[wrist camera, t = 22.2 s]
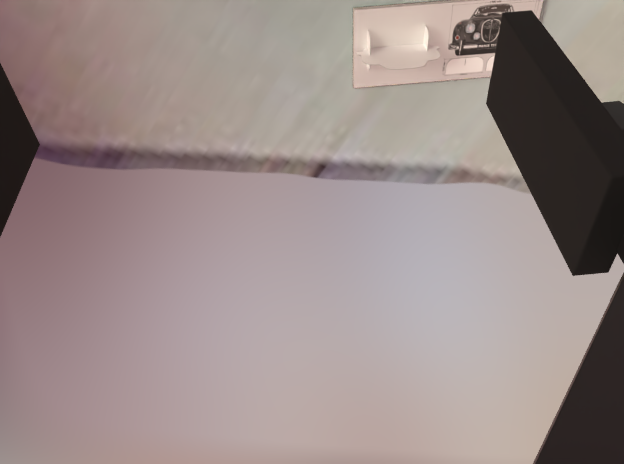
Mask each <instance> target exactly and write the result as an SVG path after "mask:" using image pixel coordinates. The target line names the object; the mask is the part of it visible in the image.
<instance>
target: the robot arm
mask: <svg viewBox="0 0 624 464" xmlns="http://www.w3.org/2000/svg"><path fill="white" fill-rule="evenodd" d="M486 104H487V106H488V108H489V110H490V112H491V114H492V116H493V118H494V120H495V122H496V124H497V126H498V128H499V130H500V132H501V134H502V136H503V138H504V140H505V142H506V144H507V146H508V148H509V150H510V152H511V154H512V156H513V158H514V160H515V162H516V164H517V166H518V168H519V170H520V172H521V174H522V176H523V178H524V180H525V182H526V184H527V186H528V188H529V190H530V192H531V194H532V196H533V197H534V200H535V201H536V204H537V206H538V207H539V210H540V212H541V214H542V215H543V217H544V219H545V221H546V223H547V225H548V227H549V229H550V231H551V233H552V235H553V237H554V239H555V241H556V243H557V245H558V247H559V249H560V251H561V253H562V255H563V257H564V259H565V261H566V263H567V265H568V267H569V269H570V271H571V273H572V275H573V276H575V275H585V274H596V273H607V272H609V270H610V268H611V265H612V263H613V261H614V259H615V257H616V255H617V253H618V255H619V256H620V258H621V260H622V262H623V263H624V104H623V103H622V102H620V101H614V102H604V103H601V102H600V100H599V99H598V98H597V96H596V95H595V94H594V92H593V91H592V90H591V88H590V87H589V86H588V84H587V83H586V82H585V80H584V79H583V78H582V76H581V75H580V74H579V72H578V71H577V70H576V68H575V67H574V66H573V64H572V63H571V62H570V60H569V59H568V58H567V56H566V55H565V54H564V52H563V51H562V50H561V49H560V47H559V46H558V45H557V43H556V42H555V41H554V39H553V38H552V37H551V35H550V34H549V33H548V31H547V30H546V29H545V27H544V26H543V25H542V23H541V22H540V21H539V19H538V18H537V17H536V15H535V14H534V13H533V11H532V10H528V11H516V12H505V13H502V17H501V23H500V29H499V34H498V40H497V46H496V51H495V57H494V63H493V68H492V74H491V79H490V85H489V91H488V96H487V102H486ZM39 145H40V144H39V142H38V140H37V138H36V136H35V134H34V131H33V129H32V127H31V125H30V123H29V121H28V119H27V117H26V115H25V113H24V111H23V109H22V107H21V105H20V103H19V101H18V99H17V96H16V94H15V92H14V90H13V88H12V86H11V84H10V82H9V80H8V78H7V76H6V74H5V72H4V70H3V68H2V66H1V64H0V236H1V234H2V232H3V229H4V227H5V225H6V222H7V220H8V217H9V215H10V213H11V211H12V208H13V206H14V203H15V201H16V199H17V196H18V194H19V191H20V189H21V187H22V185H23V182H24V180H25V177H26V175H27V173H28V171H29V168H30V166H31V164H32V161H33V159H34V157H35V154H36V152H37V150H38V147H39ZM533 464H624V273H623V276H622V277H621V279H620V282H619V284H618V286H617V288H616V290H615V292H614V294H613V296H612V298H611V301H610V303H609V305H608V307H607V309H606V311H605V313H604V315H603V317H602V320H601V322H600V324H599V326H598V328H597V330H596V332H595V334H594V336H593V339H592V341H591V343H590V345H589V347H588V349H587V351H586V353H585V355H584V357H583V359H582V362H581V364H580V366H579V368H578V370H577V372H576V374H575V376H574V378H573V381H572V383H571V385H570V387H569V389H568V391H567V393H566V395H565V397H564V400H563V402H562V404H561V406H560V408H559V410H558V412H557V414H556V416H555V418H554V421H553V423H552V425H551V427H550V429H549V431H548V434H547V435H546V438H545V440H544V442H543V444H542V446H541V448H540V450H539V452H538V454H537V456H536V459H535V461H534V463H533Z"/></svg>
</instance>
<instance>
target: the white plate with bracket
mask: <svg viewBox="0 0 624 464" xmlns="http://www.w3.org/2000/svg"><path fill="white" fill-rule="evenodd" d="M542 5H543V0H447V1H434V2H421V3H408V4H395V5H382V6H370V7H357V8H353V88H363V87H375V86H387V85H399V84H411V83H424V82H436V81H448V80H460V79H472V78H484V77H491V74H492V68H493V63H494V57H495V51H496V46H497V40H498V34H499V29H500V23H501V17H502V13H505V12H516V11H528V10H532V11H533V13H534V14H535V15H536V17H537V18H538V19H540V14H541V9H542Z"/></svg>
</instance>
